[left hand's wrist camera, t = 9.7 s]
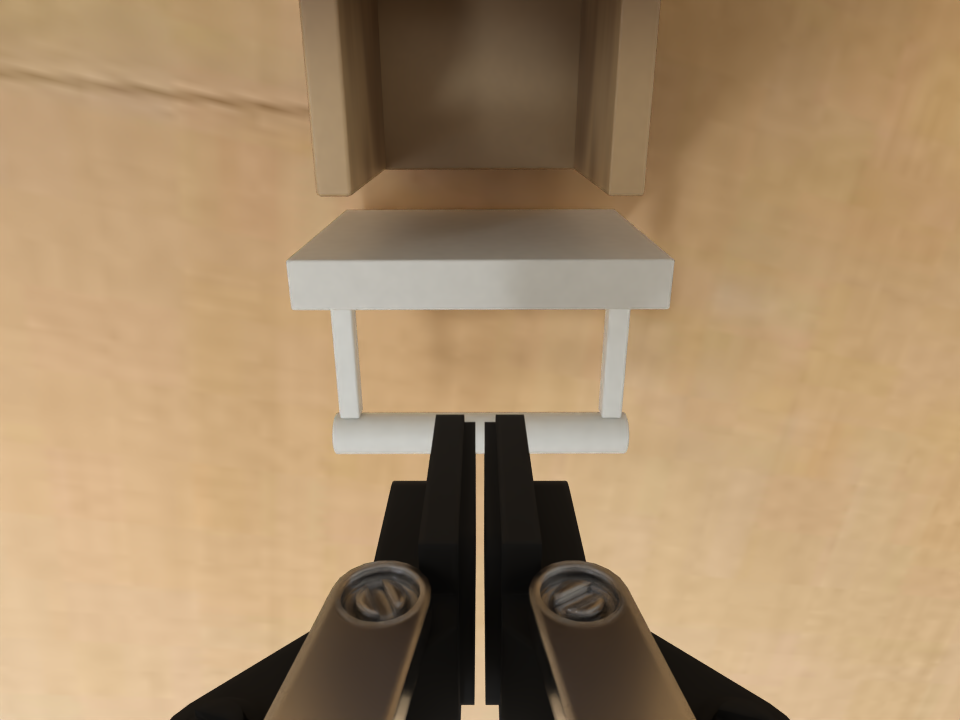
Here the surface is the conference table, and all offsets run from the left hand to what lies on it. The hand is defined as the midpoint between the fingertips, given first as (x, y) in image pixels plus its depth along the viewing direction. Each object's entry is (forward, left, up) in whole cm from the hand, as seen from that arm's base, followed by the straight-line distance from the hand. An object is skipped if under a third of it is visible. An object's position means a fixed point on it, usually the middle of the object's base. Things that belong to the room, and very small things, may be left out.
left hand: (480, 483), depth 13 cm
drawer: (-5, +1, -11) cm, 12 cm away
